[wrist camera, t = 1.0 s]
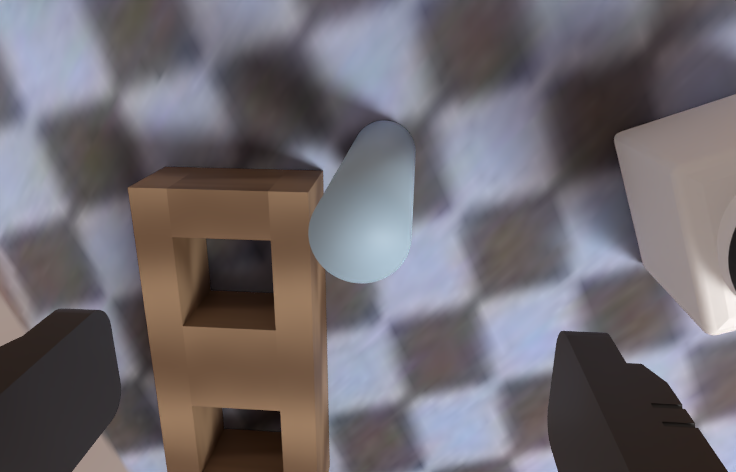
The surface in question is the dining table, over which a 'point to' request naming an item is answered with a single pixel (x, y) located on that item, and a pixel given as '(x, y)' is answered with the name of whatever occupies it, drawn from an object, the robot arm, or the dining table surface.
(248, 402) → the socket block
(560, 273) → the dining table surface
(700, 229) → the medicine bottle
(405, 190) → the peg
